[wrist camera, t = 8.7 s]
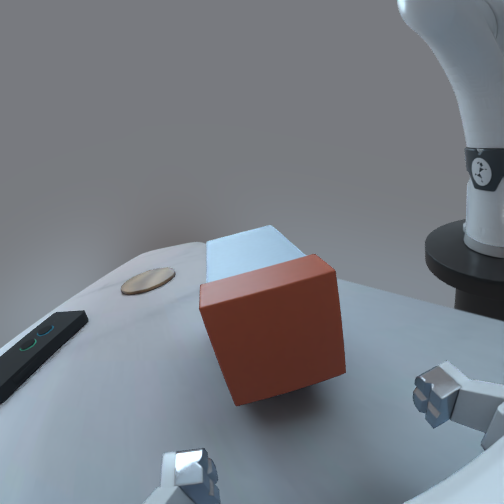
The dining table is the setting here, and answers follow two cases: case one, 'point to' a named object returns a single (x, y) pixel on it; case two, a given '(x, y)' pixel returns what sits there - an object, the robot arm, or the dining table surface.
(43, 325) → the smart home device
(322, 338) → the container
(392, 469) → the dining table surface
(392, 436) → the dining table surface
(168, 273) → the coaster
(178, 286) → the dining table surface
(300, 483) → the dining table surface
